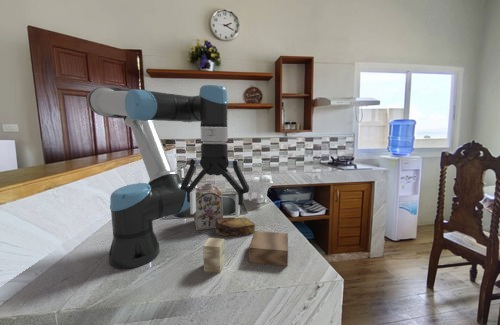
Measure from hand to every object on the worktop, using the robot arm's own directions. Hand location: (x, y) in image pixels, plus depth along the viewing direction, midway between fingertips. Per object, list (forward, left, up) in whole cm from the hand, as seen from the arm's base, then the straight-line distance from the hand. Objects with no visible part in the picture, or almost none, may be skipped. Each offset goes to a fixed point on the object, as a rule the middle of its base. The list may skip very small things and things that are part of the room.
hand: (215, 214), depth 69 cm
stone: (+1, +25, -17) cm, 30 cm away
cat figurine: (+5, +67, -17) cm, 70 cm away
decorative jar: (-13, +30, -17) cm, 37 cm away
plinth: (+16, +9, -17) cm, 25 cm away
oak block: (0, -1, -17) cm, 17 cm away
